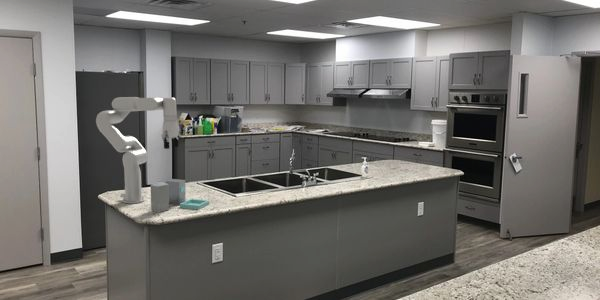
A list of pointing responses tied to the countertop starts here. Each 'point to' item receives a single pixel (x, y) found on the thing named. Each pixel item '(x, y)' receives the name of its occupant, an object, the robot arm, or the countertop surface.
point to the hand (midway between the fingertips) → (171, 147)
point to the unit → (176, 191)
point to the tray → (194, 204)
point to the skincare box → (159, 197)
